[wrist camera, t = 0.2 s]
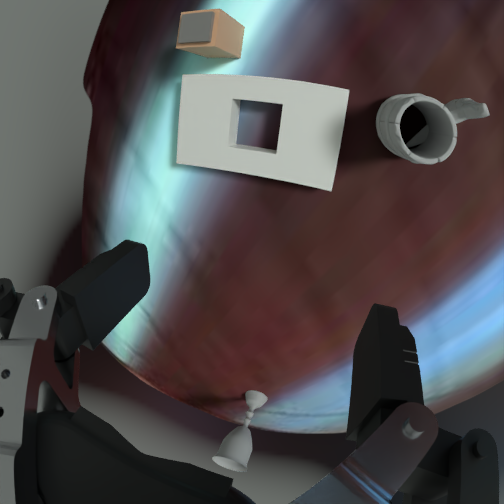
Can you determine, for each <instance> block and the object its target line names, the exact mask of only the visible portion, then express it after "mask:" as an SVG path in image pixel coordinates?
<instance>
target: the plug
mask: <svg viewBox="0 0 504 504" xmlns="http://www.w3.org/2000/svg"><path fill="white" fill-rule="evenodd" d="M244 28H245V27H244V26H243V25H241V24H240V23H239V22H237V21H236V20H235V19H233V18H232V17H231V16H229V15H228V14H227V13H225V12H224V11H223V10H221V9H210V10H199V11H190V12H182V13H181V17H180V24H179V31H178V38H177V45H176V48H177V49H181V50H184V51H187V52H191V53H194V54H197V55H200V56H203V57H206V58H241V50H242V43H243V35H244Z"/></svg>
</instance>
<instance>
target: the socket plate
mask: <svg viewBox="0 0 504 504" xmlns="http://www.w3.org/2000/svg"><path fill="white" fill-rule="evenodd" d="M348 95H349V90H347V89H342V88H337V87H332V86H326V85H321V84H315V83H309V82H302V81H295V80H288V79H279V78H270V77H259V76H245V75H223V74H183V76H182V86H181V97H180V110H179V124H178V141H177V164H185V165H193V166H200V167H207V168H213V169H220V170H226V171H232V172H238V173H244V174H250V175H256V176H261V177H266V178H272V179H277V180H282V181H287V182H292V183H297V184H301V185H306V186H311V187H315V188H320V189H324V190H328V191H332V186H333V181H334V176H335V171H336V166H337V161H338V155H339V150H340V145H341V139H342V133H343V127H344V121H345V115H346V109H347V102H348ZM241 100H250V101H260V102H269V103H277V104H283V108H282V116H281V123H280V131H279V138H278V146H277V150H272V149H266V148H259V147H253V146H246V145H239V144H236V140H237V130H238V120H239V111H240V102H241Z"/></svg>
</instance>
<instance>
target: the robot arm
mask: <svg viewBox="0 0 504 504" xmlns="http://www.w3.org/2000/svg"><path fill="white" fill-rule="evenodd" d="M149 286H150V272H149V262H148V251H147V247H146V245H144V244H142V243H138V242H134V241H131V240H124V241H123V242H121V243H120V244H119V245H117V246H116V247H114V248H113V249H112V250H109V251H107V252H104V253H102V254H100V255H98V256H97V257H96V258H94V259H93V260H92V261H91V263H90V262H89V263H88V264H86V265H85V266H84V267H83V268H81V269H80V270H78V271H77V272H76V273H74V274H73V275H72V276H70V277H69V278H68V279H67V280H65V281H64V282H63V283H62V284H60V285H59V286H58V287H56V288H55V289H54V288H53V287H51V286H38V287H35V288H33V289H31V290H30V291H28V292H27V293H26V294H22V293H17V292H15V289H14V287H13V284H12V282H11V280H10V279H7V278H1V279H0V333H1V334H2V336H3V337H2V338H1V339H0V504H256V503H254V502H253V501H252V500H251V499H250V498H249V497H248V496H246V495H245V494H243V493H242V492H241V491H239V490H237V489H236V488H234V487H232V482H233V479H232V478H229V477H225V476H223V475H220V474H216V473H214V472H211V471H208V470H205V469H203V468H200V467H197V466H195V465H192V464H190V463H184V462H179V461H173V460H168V459H163V458H158V457H154V456H150V455H146V454H143V453H141V452H140V451H139V450H137V449H136V448H135V447H134V446H133V445H132V444H131V443H129V442H128V441H127V440H126V439H125V438H124V437H123V436H122V435H121V434H120V433H119V432H118V431H117V430H116V429H115V428H114V427H113V426H111V425H110V424H109V423H107V422H105V421H104V420H102V419H100V418H99V417H97V416H96V415H94V414H92V413H91V412H89V411H88V410H86V409H85V408H83V407H82V406H81V405H80V402H79V398H78V379H79V360H80V352H79V349H78V348H79V347H80V346H81V345H82V344H83V345H84V346H86V347H88V348H90V349H92V350H94V349H95V348H96V347H97V346H98V345H99V343H101V341H102V340H103V339H104V338H105V337H106V336H107V335H108V334H109V333H110V332H111V331H112V330H113V329H114V327H115V326H116V325H117V324H118V323H119V322H120V321H121V320H122V319H123V318H124V317H125V316H126V315H127V314H128V313H129V312H130V311H131V309H132V308H133V307H134V306H135V305H136V304H137V303H138V302H139V301H140V300H141V299H142V298H143V297H144V296H145V295H146V293H147V292H148V289H149ZM416 353H417V349H416V344H415V339H414V337H413V335H412V334H411V332H410V331H409V329H408V328H407V327H406V326H402V325H400V324H399V318H398V312H397V309H396V308H393V307H389V306H384V305H380V304H376V303H375V304H373V306H372V308H371V310H370V312H369V314H368V317H367V319H366V321H365V323H364V326H363V328H362V330H361V332H360V334H359V336H358V339H357V342H356V345H355V349H354V355H353V371H352V385H351V397H350V407H349V416H348V425H347V433H346V439H347V440H353V441H357V443H356V450H355V451H354V452H353V453H352V454H351V455H350V456H349V457H348V458H347V459H346V460H344V461H343V462H342V463H341V464H340V465H339V466H338V467H336V468H335V469H334V470H333V471H332V472H330V473H329V474H328V475H327V476H326V477H324V478H323V479H322V480H320V482H318V483H317V484H315V485H314V486H313V487H311V488H310V489H309V490H307V491H306V492H305V493H303V494H302V495H301V496H299V497H298V498H296V499H295V500H293V501H292V502H291V503H289V504H392V502H391V501H390V499H391V497H392V496H393V495H394V494H395V492H396V491H397V490H398V491H401V492H404V497H403V504H499V470H498V454H497V447H496V443H495V440H494V439H493V437H492V436H491V435H490V433H488V432H487V431H485V430H483V429H479V428H478V429H473V430H470V431H469V432H468V433H467V434H466V435H464V436H463V437H461V436H458V435H456V434H453V433H450V432H448V431H445V430H443V429H441V428H439V427H438V422H437V419H436V417H435V415H434V414H433V412H432V411H431V410H430V409H429V408H427V407H426V406H424V401H423V391H422V383H421V375H420V368H419V365H418V355H417V354H416Z"/></svg>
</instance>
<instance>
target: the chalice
mask: <svg viewBox="0 0 504 504" xmlns="http://www.w3.org/2000/svg"><path fill="white" fill-rule="evenodd" d="M245 395H246V403H247V405H248V406H249V407H250V409H249V411H248V412H246V414H247V417H246V418H245V419H244V424H243V426H239V427H237V428H236V429H234V430H233V431H232V432H230V433H229V434H228V435H227V436H226V437H225V438H224V440H223V442H222V444H221V446H220V448H219V451H218V453H217V454H216V455H215V456H213V458H212V459H213V461H214V462H216V463H217V464H219V465H221V466H223V467H225V468H228V469H230V470H234V471H239V472H244V471H247V462H248V460H249V457H250V454H251V452H252V439H251V433H250V430H249V429H248V428H247V426H248V424H249V423H250V422H251V420H250V418H251V417H252V416H254V414H253V410H254V409H255V408H259V407H261V406H262V405H263V404H264V403H265V402H266V401H267V397H266V396H265V395H264V394H263V393H261V392H258V391H253V390H251V391H247V392H246V393H245Z"/></svg>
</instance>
